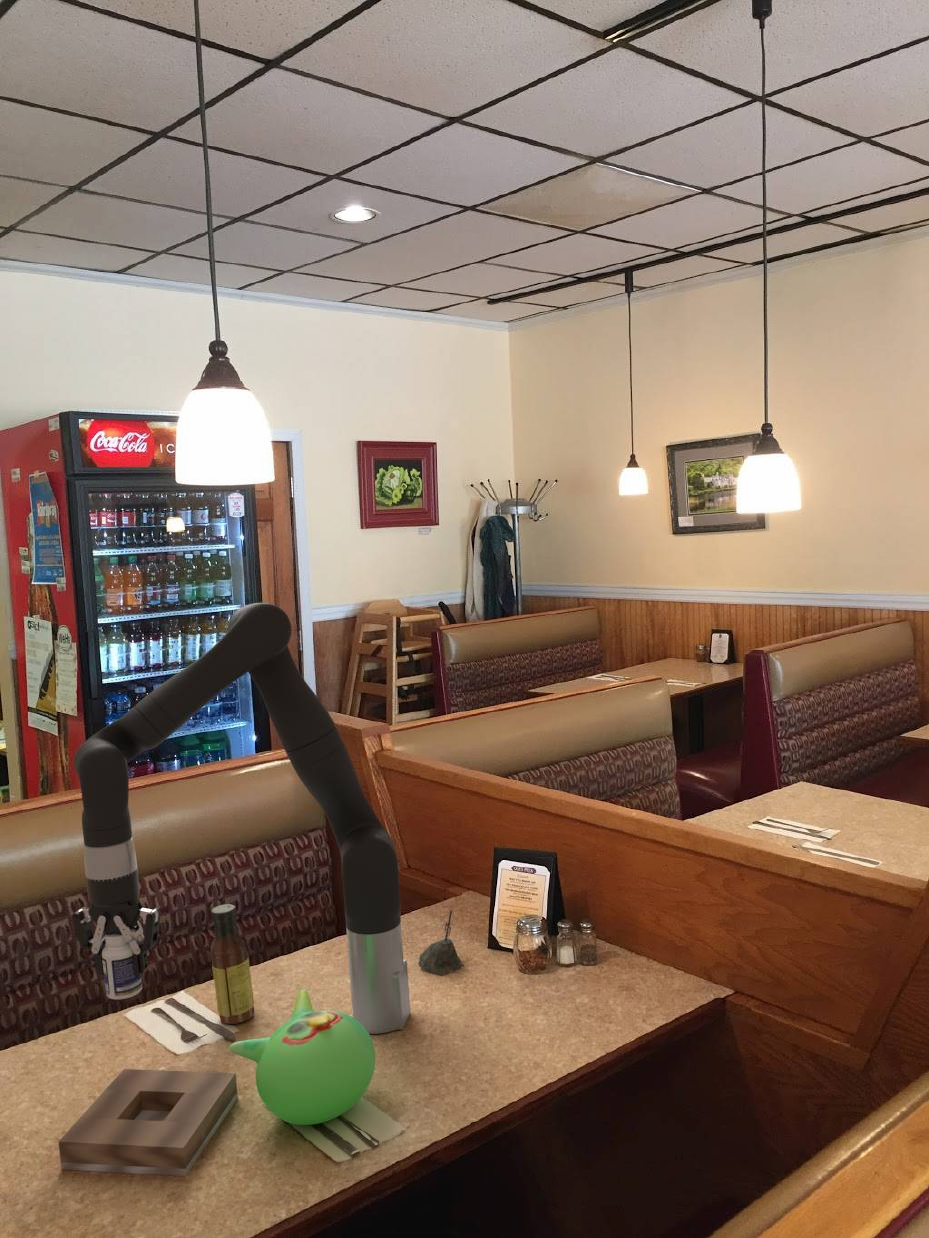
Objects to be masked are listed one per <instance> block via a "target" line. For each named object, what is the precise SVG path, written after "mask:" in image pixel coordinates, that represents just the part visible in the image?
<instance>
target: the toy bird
mask: <svg viewBox="0 0 929 1238" xmlns="http://www.w3.org/2000/svg"><path fill="white" fill-rule="evenodd" d="M229 1051H230V1052H231V1053H234V1054H235V1055H237V1056H240V1057H243V1058H246V1059H247V1060H250V1061H253V1062H255V1063H256V1069H255V1083H256V1084H255V1085H256V1089H257V1093H258V1095H259V1097H260V1099H261V1101H262V1103H263V1105H265V1107H266V1108H267V1110H269V1112H271V1114H273V1115H274V1116H275V1117H277V1118H278V1119H280V1120H282V1121H284V1122H286V1123H289V1124H293V1125H297V1126H298V1125H299V1126H310V1125H318V1124H322V1123H326V1122H328V1121H331V1120H333V1119H335V1118H337V1117H340V1116H341V1115H343V1114H344V1113H346V1112H348V1111H349V1110H350V1109H351V1108H353V1107H354V1106H355V1105H356V1104H357V1103H358V1102H359V1100H360V1099H362V1097H363V1096H364V1095H365V1093H366V1091H367V1090H368V1087H369V1086H370V1084H371V1081H372V1079H373V1076H374V1073H375V1067H376V1066H375V1065H376V1050H375V1044H374V1041H373V1039H372V1037H371V1034H370V1033H368V1031H367V1030H366V1029H365V1027H364V1026H363V1025H362V1024H361V1023H360V1022H359V1021H357V1020H356V1019H355V1018H353V1016H351V1015H349V1014H347V1013H344V1012H341V1011H339V1010H337V1011H336V1010H330V1009H329V1010H325V1009H324V1010H316V1011H315V1010H314V1008H313V1004H312V1002H311V998H310V995H309V992H308V991H307V989H301V990H300V991H299V992H298V994H297V996H296V1000H295V1002H294V1007H293V1010H292V1013H291V1018H290V1020H289V1021H287V1022H285V1023H284V1024H283V1025H281V1026H280V1027H279V1028H277V1030H276V1031H275V1032H274V1033H273V1034H272V1035H271V1036H268V1037H262V1038H253V1039H246V1040H240V1041H239V1040H238V1041H235V1042H232V1043H231V1045H230V1046H229Z"/></svg>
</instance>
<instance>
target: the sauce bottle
mask: <svg viewBox="0 0 929 1238" xmlns="http://www.w3.org/2000/svg"><path fill="white" fill-rule="evenodd" d="M236 916H237V910H236V906H235V905H233V904H229V903H226V904H221V905H220V904H219V905H217V906H215V907H213V908H212V910H211V918H212V919H213V924H214V935H215V936H214V938H213V940H212V942H211V945H210V956H211V961H212V962H211V966H212V967H211V969H212V974H213V976H212V977H213V981H214V982H213V983H214V989H215V990H214V991H215V1000H216V1006H217V1013H218V1015H219V1019H220V1021H221V1022H222V1023H223V1024H229V1025H235V1024H242V1023H244V1022H246V1021H249V1020H250V1019H251V1018H252V1017H253V1016H254V1015H255V1007H254V1006H255V1001H254V1000H255V999H254V992H253V991H254V990H253V982H252V974H251V969H250V968H251V967H250V959H249V952H248V949H247V947H246V944H245V943H244V941H243V939H242V938H241V935H240V932H239V931H238V926H237V917H236Z"/></svg>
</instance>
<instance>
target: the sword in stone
mask: <svg viewBox="0 0 929 1238" xmlns="http://www.w3.org/2000/svg"><path fill="white" fill-rule="evenodd" d="M452 912H453V910H452V909H450V910H449V916H448V921H447V923H445V925H444V927H445V928H444V933H445V938H444V939H440V940H438V941H436V942H434V943H431V944H430V945H428V947H426V949H425V950H424V951H423V952H422V953H421V954H420V955H419V960H418V966H419V968H420V967H421V969H422V970H423V972H425V971H426V972H425V973H428V972H429V974H431V973H432V975H435V976H436V975H437V976H439V977H444V976H447V975H450V974H453V973H456V972H458V971H460V970H461V969H462V968H463V967H464V966H465V964H463V963H462V961H461V959H460V958H459V954H457V949H456V948H455V947H456V946H455V944H454V942H453V941H452V939H451V938H448V937H449V936H450V935H451V918H452ZM462 966H463V967H462ZM461 967H462V968H461ZM421 969H420V970H421ZM422 970H421V971H422Z"/></svg>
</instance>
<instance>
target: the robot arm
mask: <svg viewBox="0 0 929 1238" xmlns="http://www.w3.org/2000/svg"><path fill="white" fill-rule="evenodd" d="M291 637H292V623H291V620H290V617H289V616H288V614H287V613H286V612H285V611H284V610H283V609H282V607H281V608H280V607H279V606H277V605H274V604H272V603H267V602H255V603H249V604H246V605H243V606H241V607H240V608H238V609H237V610H235V612H234V613H233V614H232V616H231V617H230V619H229V621H228V626H227V631H226V633H225V634H224V635H223V637H221V638H220V639H219V640H218V642H216V643H215V645H212V646H213V647H212V646H211V648H210V649H209V650H207V652H205V653H204V654H203V655H201V656H200V657H199V658H198V659H196V660H195V661H193V662H192V663H191V664H189V665H188V666H187V667H185V668H183V669H182V670H180V671H179V672H178V673H176V674H174V675H173V676H172V677H170V678H168V679H167V680H166V681H164V682H163V683H161V684H160V685H158V687H156V688H155V689H153V690H152V691H151V692H149V693H148V694H147V695H145V697H143V698H142V699H141V700H140V701H139V702H137V703H136V704H135V705H134V706H133V707H132V708H130V710H128V711H127V712H126V713H125V714H123V716H121V717H120V718H118V719H116V720H114V721H112V722H111V723H110V724H108V725H106V726H105V727H103V728H101V729H100V730H98V731H97V732H96V733H93V735H91V736H90V737H89V738H88V739H86V740H85V742H83V743H82V744H81V745H80V747H79V748H78V749H77V750H76V752H75V755H74V758H73V767H74V770H75V772H76V774H77V776H78V779H79V784H80V792H81V800H82V805H83V810H82V813H81V828H82V836H83V846H84V847H83V848H84V850H83V852H84V853H83V862H84V871H85V882H86V889H87V899H88V902H89V907H88V908H86V907H85V906H82V907H81V908H78V910H76V911H75V912H73V914H71V919H72V922H73V925H74V929H75V933H76V936H77V939H78V942H79V945H80V946H79V947H80V948H81V950H84V951H86V950H88V951H91V952H92V954H93V956H94V957H93V958H94V965H95V966H94V967H95V971H96V973H98V976H99V977H104V970H103V961H102V951H103V949H104V948H105V947H106V946H107V945H106V942H105V934H106V935H111V934H118V935H123V937H124V939H125V941H126V942H128V943H129V944H130V946H131V948H132V950H133V952H134V954H133V962H134V971H135V976H136V977H141V978H142V976H143V975H145V973H146V971H147V970H148V968H149V960H148V959H149V958H148V952H149V951H150V950H151V949H152V948H153V947H155V946H156V944H158V942H159V936H160V935H159V934H160V933H159V932H160V926H161V925H160V924H161V923H160V921H161V913H162V911H161V909H160V908H159V907H157V906H156V907H154V908H153V909H150V908H144V905H142V903H141V900H140V893H141V891H140V882H139V881H140V880H139V870H138V863H137V852H136V847H135V844H134V839H133V832H132V821H131V812H130V809H129V796H130V795H129V791H130V789H129V788H130V786H129V780H130V779H129V778H130V777H129V769H128V763H130V762H131V761H133V760H134V759H135V758H136V757H138V755H140V754H141V753H142V752H144V751H150V750H153V749H155V748H157V747H158V746H159V745H161V744H162V743H163V742H164V741H165V740H167V739H168V738H169V737H171V736H172V735H173V734H174V733H175V732H176V731H178V729H180V728H181V727H182V726H183V725H185V723H187V722H188V721H189V720H190V719H191V718H192V717H193V716H195V715H196V714H197V713H198V712H200V710H201V709H203V708H204V707H205V705H207V704H208V703H210V702H211V701H212V700H213V699H214V698H216V696H218V695H219V694H220V693H222V691H224V690H225V689H226V688H228V687H229V686H230V685H232V684H234V682H236V681H237V680H238V679H240V678H241V677H243V676H244V675H246V674H247V673H248V674H249V676H250V677H251V679H252V680H253V683H255V686H256V688H257V690H258V691H259V693H260V695H261V697H262V699H263V702H264V705H265V707H266V710H267V712H268V714H269V715H268V716H269V718H270V720H271V722H272V724H273V726H274V729H275V732H276V734H277V736H278V738H279V740H280V744H281V745H282V747H283V750H284V751H285V753H286V755H287V757H288V760H289V761H290V763H291V765H292V768H293V770H294V771H295V773H296V775H297V776H298V778H299V779H300V781H301V782H302V783H303V785H304V787H305V788H306V789H307V791H308V792H309V794H310V795H311V796H312V797H313V799H314V800H315V802H317V804H318V805H319V807H321V810H322V811H323V813H324V814H325V816H326V818H327V821H328V823H329V825H330V827H331V830H332V832H333V834H334V837H335V839H336V844H337V846H338V849H339V852H340V860H341V874H342V875H341V876H342V877H341V878H342V888H343V902H344V916H345V926H346V927H345V928H346V944H347V956H348V971H349V981H350V982H349V983H350V993H351V996H350V997H351V1007H352V1011H351V1015H352V1017H353V1018H355V1019H356V1020H357V1021H359V1022H360V1023H361V1024H362V1025H363V1026H364V1027H365V1029H366V1030H367V1031H368V1033H369V1034H370V1035H371V1034H375V1035H376V1034H377V1035H378V1034H379V1035H380V1034H386V1033H390V1032H393V1031H401V1030H404V1028H405V1026H406V1023H407V1022H408V1019H409V1017H410V1014H411V1002H410V1001H411V1000H410V985H409V984H410V983H409V974H408V962H407V961H408V960H406V959H404V949H403V947H404V946H403V934H402V933H403V932H402V918H401V908H402V905H401V903H402V902H401V893H400V892H401V890H400V889H401V888H400V874H399V871H400V869H399V861H398V856H397V851H396V847H395V844H394V841H393V838H392V837H391V836H390V834H389V833H388V831H387V829H386V827H384V825H383V823H382V822H381V821H380V819H379V817H378V815H377V814H376V813H375V811H374V809H373V808H372V805H371V804H370V803H369V801H368V799H367V797H366V795H365V793H364V791H363V789H362V786H361V784H360V780H359V777H358V774H357V772H356V768H355V766H354V764H353V763H354V762H353V761H352V758H351V755H350V753H349V750H348V749H347V746H346V744H345V741H344V739H343V738H342V736H341V733H340V732H339V729H338V727H337V725H336V723H335V721H334V720H333V717H332V716H331V714H330V713H329V711H328V710H327V708H326V706H325V705H324V704H323V703H322V701H321V700H320V698H319V697H318V696H317V694H316V693H315V692H314V691H313V689H312V688H311V687H310V685H309V684H308V683H307V682H306V680H305V679H304V677H303V676H302V674H301V673H300V671H299V668H298V667H297V664H296V663H295V661H294V658H293V655H292V653H291V651H290V648H289V643H290V640H291ZM140 918H142V923H143V925H145V926H144V929H143V927H142V924H141V923H140V921H139V919H140ZM91 920H92V921H93V922H94V923H95V924H96V928H95V931H94V929H93V925H92V922H91ZM131 930H132V933H131Z"/></svg>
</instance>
